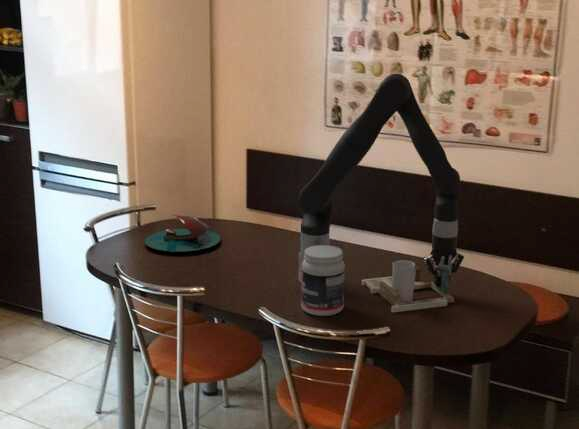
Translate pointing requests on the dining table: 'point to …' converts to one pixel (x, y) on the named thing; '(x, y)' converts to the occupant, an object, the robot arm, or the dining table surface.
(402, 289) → the mug
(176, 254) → the dining table surface
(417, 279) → the plain strip
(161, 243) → the boat on round base
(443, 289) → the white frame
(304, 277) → the supplement tub
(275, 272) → the dining table surface
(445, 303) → the lane rails
